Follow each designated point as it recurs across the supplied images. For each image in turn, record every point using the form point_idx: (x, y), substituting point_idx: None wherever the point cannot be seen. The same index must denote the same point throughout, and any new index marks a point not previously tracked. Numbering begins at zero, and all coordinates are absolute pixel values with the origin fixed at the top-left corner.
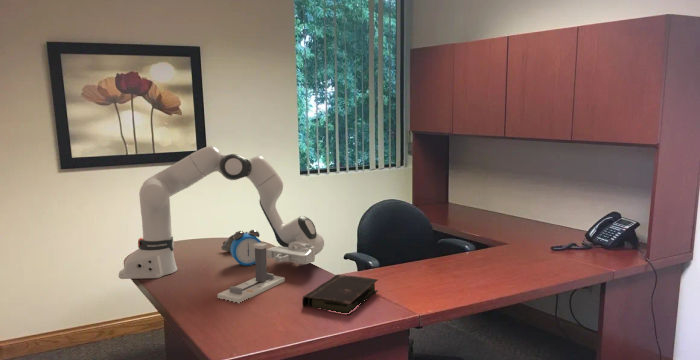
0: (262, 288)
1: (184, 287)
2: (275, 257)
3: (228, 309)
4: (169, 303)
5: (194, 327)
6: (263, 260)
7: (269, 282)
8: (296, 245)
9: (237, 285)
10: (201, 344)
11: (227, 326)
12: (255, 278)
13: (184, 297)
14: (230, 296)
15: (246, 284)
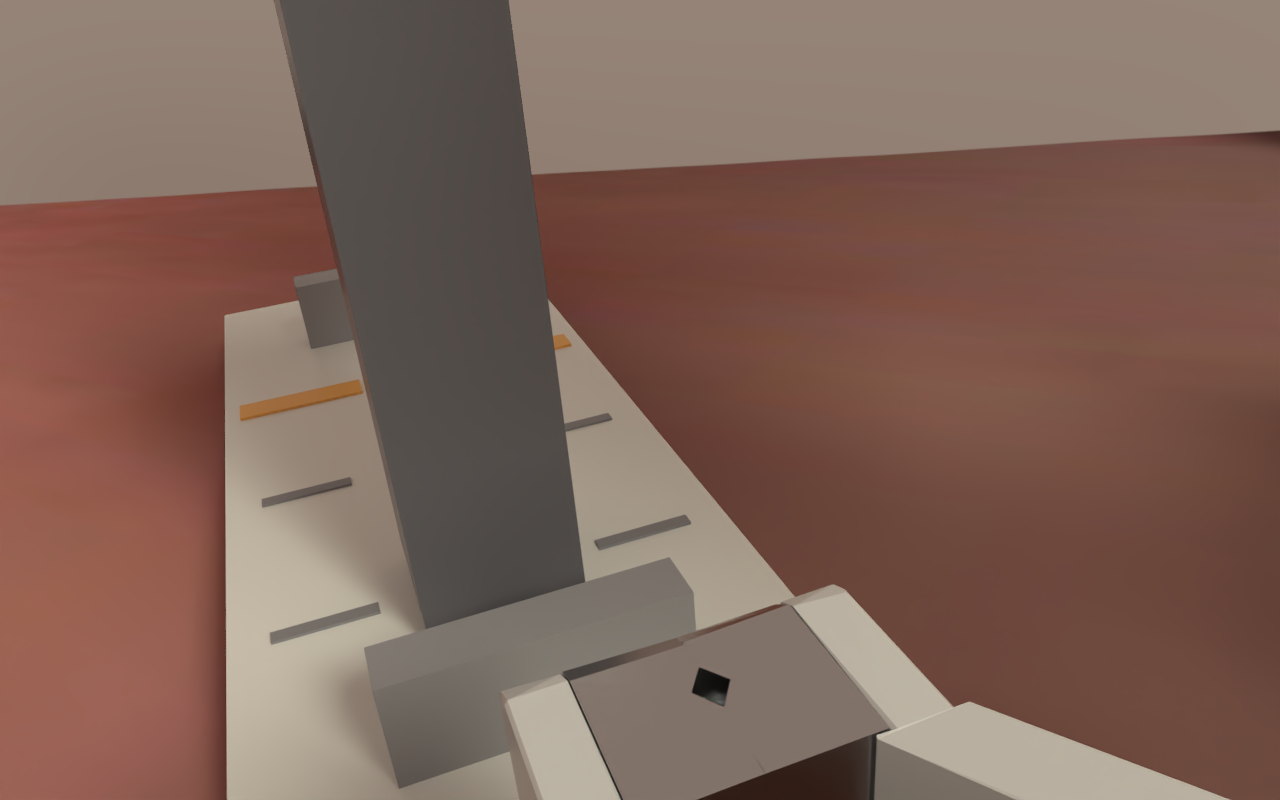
0: (229, 513)
1: (981, 218)
2: (790, 600)
3: (219, 305)
4: (673, 175)
5: (202, 206)
6: (311, 153)
7: (319, 650)
8: None
9: (601, 367)
10: (3, 208)
11: (3, 271)
12: (720, 559)
13: (726, 208)
14: None
15: None
